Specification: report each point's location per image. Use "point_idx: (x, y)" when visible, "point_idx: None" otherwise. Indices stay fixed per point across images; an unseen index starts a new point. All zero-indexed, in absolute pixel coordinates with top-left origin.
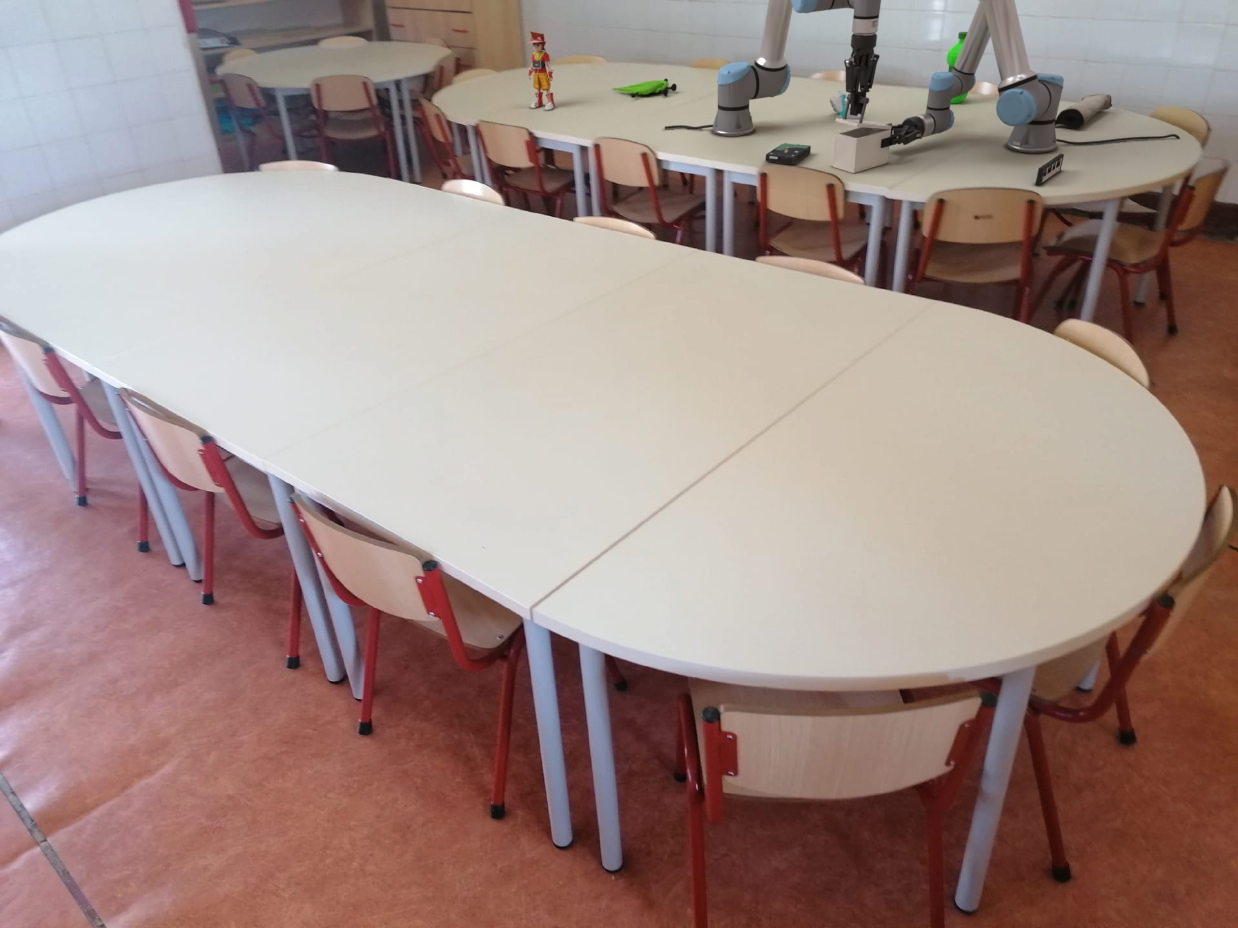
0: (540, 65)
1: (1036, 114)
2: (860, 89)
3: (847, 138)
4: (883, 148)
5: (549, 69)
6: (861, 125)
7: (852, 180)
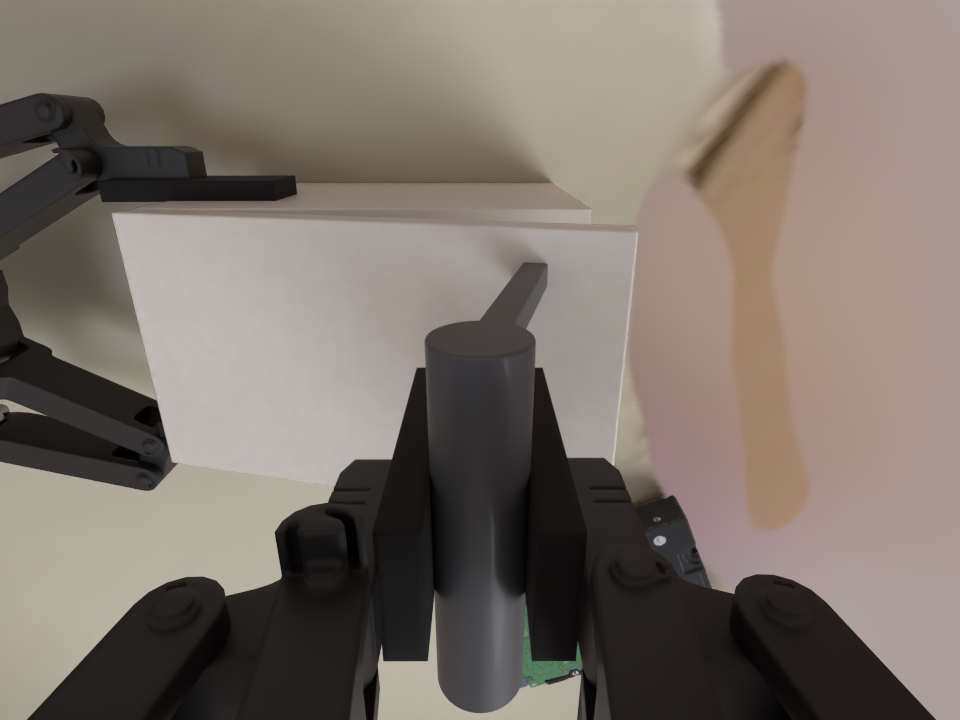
0: None
1: None
2: (377, 674)
3: None
4: None
5: None
6: (567, 226)
7: (670, 80)
